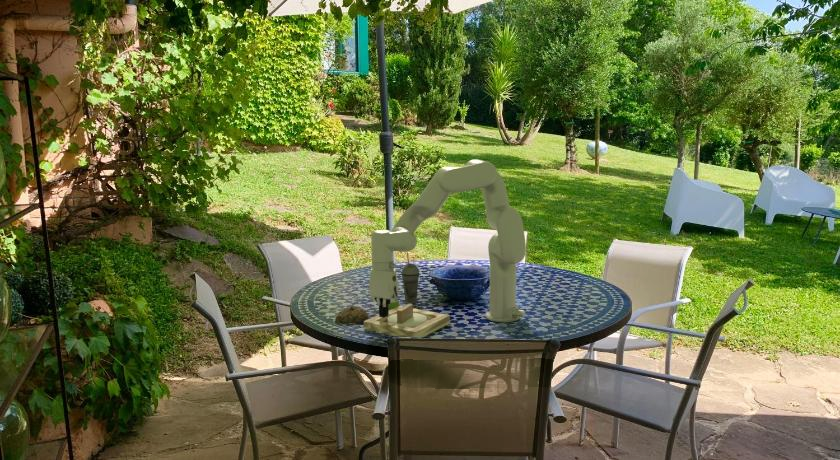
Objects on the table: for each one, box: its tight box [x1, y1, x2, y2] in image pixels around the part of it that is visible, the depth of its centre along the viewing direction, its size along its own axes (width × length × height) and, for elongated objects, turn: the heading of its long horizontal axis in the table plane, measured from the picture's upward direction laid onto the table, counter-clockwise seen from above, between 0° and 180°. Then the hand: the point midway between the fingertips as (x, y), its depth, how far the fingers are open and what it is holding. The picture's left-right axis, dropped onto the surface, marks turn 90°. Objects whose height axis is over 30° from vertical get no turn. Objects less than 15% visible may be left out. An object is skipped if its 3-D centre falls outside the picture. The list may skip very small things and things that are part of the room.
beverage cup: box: [401, 252, 421, 304], centre depth 263 cm, size 7×7×20 cm
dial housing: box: [363, 305, 451, 338], centre depth 233 cm, size 22×22×3 cm
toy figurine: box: [388, 299, 400, 311], centre depth 251 cm, size 5×6×12 cm
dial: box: [388, 303, 427, 328], centre depth 232 cm, size 14×14×6 cm
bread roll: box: [334, 305, 370, 325], centre depth 242 cm, size 13×12×5 cm
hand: (383, 316), depth 230 cm, fingers closed
